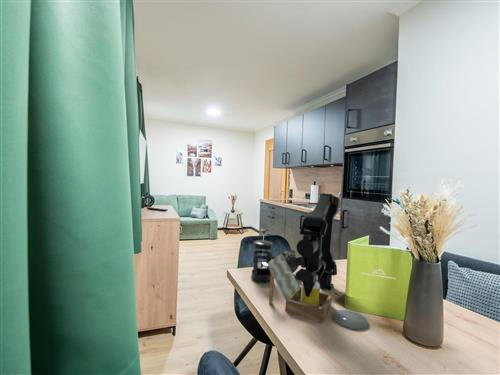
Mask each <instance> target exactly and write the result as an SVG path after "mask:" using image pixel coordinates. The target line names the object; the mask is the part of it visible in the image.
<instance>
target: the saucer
mask: <svg viewBox="0 0 500 375" xmlns="http://www.w3.org/2000/svg"><path fill="white" fill-rule="evenodd" d="M332 318H333V320H334V322H335V323H336V324H338V325H339V326H340V327H343V328H346V329H348V330H353V331H363V330H366V329H367V328H368V327H369V321H368V319H367V318H366V316H364V315H362V314H361V313H359V312H356V311H352V310H350V309H349V310H347V309H338V310H335V311H334V312H333V313H332Z"/></svg>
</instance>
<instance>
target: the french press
mask: <svg viewBox="0 0 500 375" xmlns="http://www.w3.org/2000/svg"><path fill="white" fill-rule="evenodd" d="M259 231H261V232H262V234H263V237H262V239H261V240H259V239H258V240H257V239H256V240H253V244H254V248H255V249H256V250H254V251H253V252H252V257H253V264H252V266H253V267H252V270H251V276H250V279H251V281H253V282H255V283H261V284H266V283H270V277H271V271H270V269H269V267H268V265H267V263H268V262H269V261H271V260H273V259H274V258H276V256H273V252H271V251H269V250H272V249H273V245H274V242H273V241H269V240H265V234H266V232H269V229H267V228H261V229H260V228H259ZM257 249H258V250H257ZM264 254H265V255H264ZM259 259H261V261H259ZM264 260H266V262H265V261H264ZM263 261H264V262H263Z"/></svg>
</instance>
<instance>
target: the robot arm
mask: <svg viewBox="0 0 500 375" xmlns="http://www.w3.org/2000/svg"><path fill="white" fill-rule="evenodd" d="M318 198H319V199H318V201H317V202H316V205H315V207H314V209H313V210H311V211H309V212H308V213H307V214H306V215H305V216H304V218H303V220H302V224H301V227H300V231H299V235H301V236H302V239H300V240H299V241H298V242H297V244H296V251H297V253H298V255H297V254H296V256H290V257H289V259H288V264H289V265H290V267H294V266H300V269H299V270H296V271H295V279H296V281H300V282H301V283H302V282H303V286H304V290H305V295H306V296H307V297H309V296H310V294H311V292H312V289H313V287H314V285H315V283H316V281H317V282H318V283H319V284H320V289H324V290H328V291H331V290H332V289H333V287H334V283H332V282H333V281H332V279H333V276H337V275H338V268H337V262H336V261H335V259H336V258H335V255H334V252H333V251H332V249H333V237H334V236H333V235H334V226H335V225H334V223H335V217H336V216H337V214H338V213H339V210H340V208H341V204H342V203H341V198H339V197H337V196H335V195H334V194H332V193H327V192H325V193H323V192H322V193H320V194H319V197H318ZM316 275H318V280H317V279H316Z"/></svg>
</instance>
